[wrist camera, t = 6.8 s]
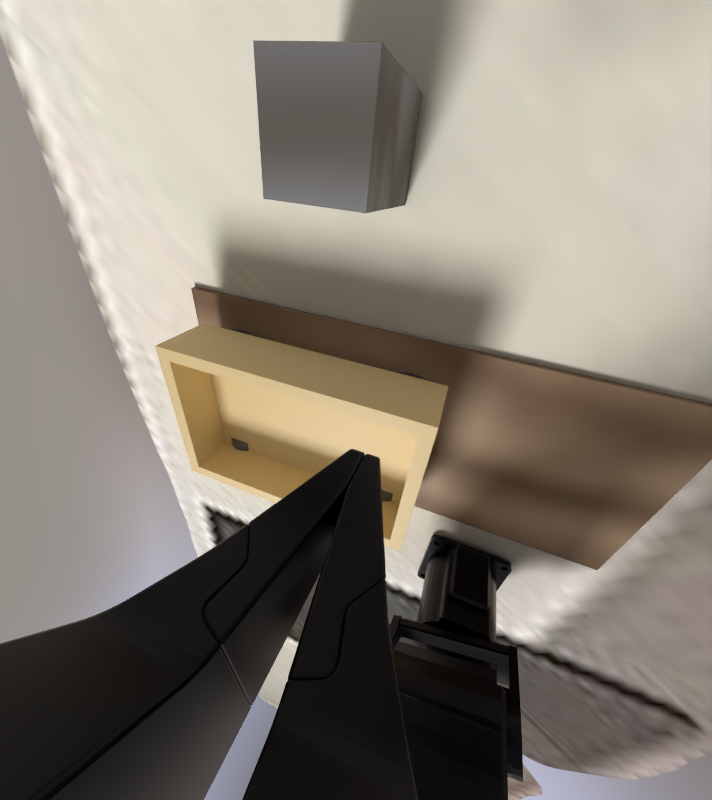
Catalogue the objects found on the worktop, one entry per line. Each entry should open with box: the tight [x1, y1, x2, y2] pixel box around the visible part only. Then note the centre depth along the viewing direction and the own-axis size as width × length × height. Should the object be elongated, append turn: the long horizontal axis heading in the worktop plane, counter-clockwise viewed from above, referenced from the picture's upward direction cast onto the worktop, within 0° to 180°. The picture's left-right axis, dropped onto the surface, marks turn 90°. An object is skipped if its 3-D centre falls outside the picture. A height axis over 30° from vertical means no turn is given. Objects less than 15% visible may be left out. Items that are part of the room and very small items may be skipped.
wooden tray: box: [155, 323, 448, 551], centre depth 22 cm, size 11×17×5 cm, turn 85°
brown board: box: [191, 287, 712, 570], centre depth 23 cm, size 14×32×1 cm, turn 85°
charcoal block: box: [253, 41, 422, 213], centre depth 13 cm, size 4×4×6 cm
